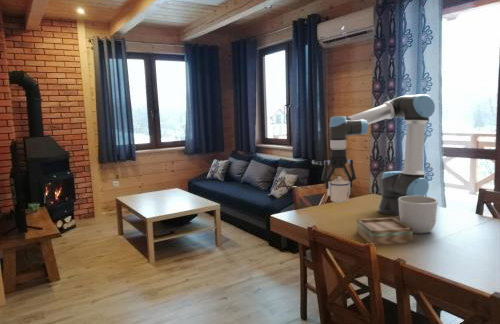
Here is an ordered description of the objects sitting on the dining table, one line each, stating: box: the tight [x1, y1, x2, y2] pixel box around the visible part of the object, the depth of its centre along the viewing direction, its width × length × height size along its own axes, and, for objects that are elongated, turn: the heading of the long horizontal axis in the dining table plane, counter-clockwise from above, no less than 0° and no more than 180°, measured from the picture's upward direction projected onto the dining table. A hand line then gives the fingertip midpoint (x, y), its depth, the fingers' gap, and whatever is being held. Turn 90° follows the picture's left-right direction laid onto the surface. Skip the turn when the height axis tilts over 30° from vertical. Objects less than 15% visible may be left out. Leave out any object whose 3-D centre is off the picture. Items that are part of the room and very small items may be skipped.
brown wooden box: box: [356, 217, 413, 246], centre depth 171 cm, size 18×18×6 cm
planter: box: [398, 195, 439, 234], centre depth 178 cm, size 17×17×15 cm
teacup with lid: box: [329, 176, 350, 203], centre depth 183 cm, size 12×9×12 cm
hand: (338, 194), depth 183 cm, fingers closed on teacup with lid, 9 cm apart
